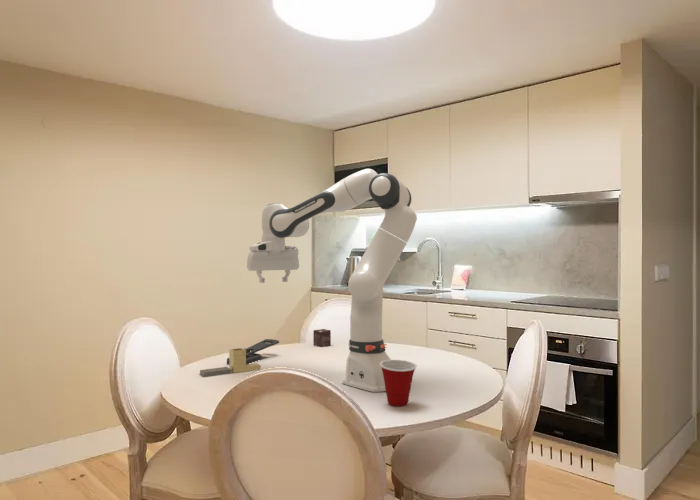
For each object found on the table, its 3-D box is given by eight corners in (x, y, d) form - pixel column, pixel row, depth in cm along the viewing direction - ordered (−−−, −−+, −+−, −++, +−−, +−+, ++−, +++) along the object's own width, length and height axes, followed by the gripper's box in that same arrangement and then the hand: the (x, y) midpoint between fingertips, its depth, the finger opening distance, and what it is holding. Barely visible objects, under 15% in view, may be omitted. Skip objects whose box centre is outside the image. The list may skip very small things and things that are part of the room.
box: (323, 344, 253) (323, 328, 253) (331, 345, 249) (331, 330, 249) (313, 345, 250) (313, 330, 249) (320, 347, 245) (320, 331, 245)
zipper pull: (281, 340, 227) (239, 350, 206) (281, 355, 227) (239, 367, 206) (265, 338, 231) (223, 347, 211) (266, 353, 232) (223, 364, 211)
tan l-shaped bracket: (256, 366, 205) (256, 346, 205) (261, 369, 201) (260, 348, 201) (229, 370, 199) (229, 349, 199) (233, 373, 195) (233, 351, 195)
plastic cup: (396, 411, 148) (396, 369, 148) (372, 402, 157) (372, 362, 157) (424, 405, 155) (424, 364, 155) (400, 396, 163) (399, 357, 163)
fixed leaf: (243, 371, 197) (243, 353, 197) (203, 377, 190) (203, 357, 189) (238, 369, 201) (238, 350, 201) (200, 374, 194) (199, 355, 194)
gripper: (294, 246, 210) (294, 280, 210) (245, 246, 199) (245, 282, 199) (301, 246, 204) (301, 281, 205) (251, 246, 194) (251, 283, 194)
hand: (273, 282), depth 202 cm, fingers open, 8 cm apart
